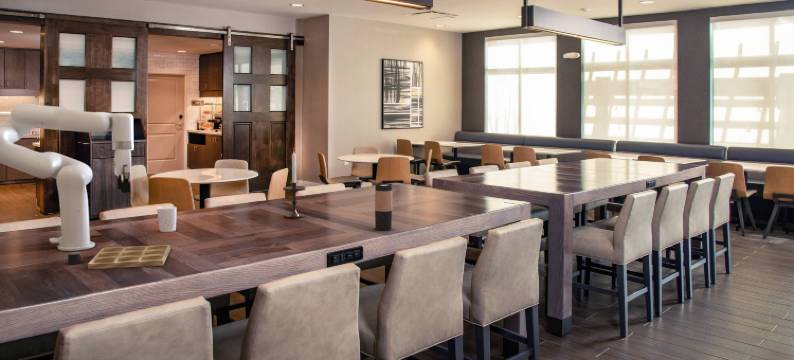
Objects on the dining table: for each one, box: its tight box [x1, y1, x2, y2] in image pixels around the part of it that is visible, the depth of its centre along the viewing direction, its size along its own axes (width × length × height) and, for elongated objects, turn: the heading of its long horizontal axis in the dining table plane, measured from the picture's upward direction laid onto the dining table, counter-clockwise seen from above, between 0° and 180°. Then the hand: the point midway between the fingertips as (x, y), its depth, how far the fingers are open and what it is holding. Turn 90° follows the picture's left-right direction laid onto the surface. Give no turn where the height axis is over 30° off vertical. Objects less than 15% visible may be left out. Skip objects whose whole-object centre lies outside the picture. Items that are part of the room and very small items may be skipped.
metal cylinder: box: [67, 251, 82, 265], centre depth 215 cm, size 4×4×4 cm
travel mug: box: [374, 183, 393, 232], centre depth 276 cm, size 8×8×20 cm
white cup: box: [156, 205, 178, 233], centre depth 269 cm, size 8×8×10 cm
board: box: [87, 244, 171, 270], centre depth 222 cm, size 24×24×2 cm
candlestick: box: [282, 145, 307, 220], centre depth 302 cm, size 11×11×35 cm
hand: (123, 190), depth 239 cm, fingers open, 9 cm apart
